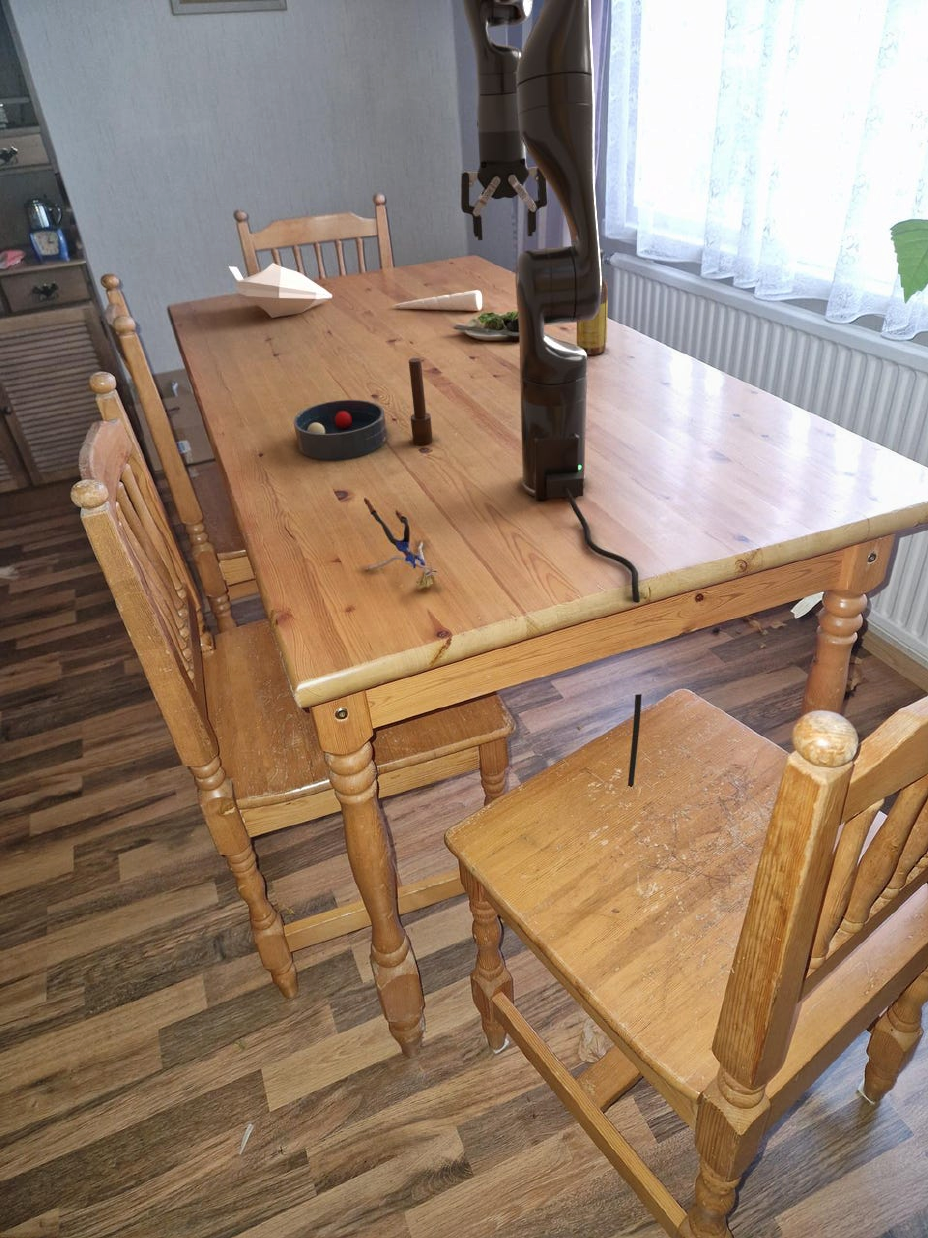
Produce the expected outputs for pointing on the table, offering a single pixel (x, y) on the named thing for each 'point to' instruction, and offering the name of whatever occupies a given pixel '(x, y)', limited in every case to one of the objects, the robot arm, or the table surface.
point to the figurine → (405, 550)
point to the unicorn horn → (447, 302)
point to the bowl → (341, 430)
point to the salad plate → (493, 327)
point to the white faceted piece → (280, 290)
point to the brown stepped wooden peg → (419, 406)
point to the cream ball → (316, 428)
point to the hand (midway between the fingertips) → (505, 237)
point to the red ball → (343, 420)
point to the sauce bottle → (595, 325)
